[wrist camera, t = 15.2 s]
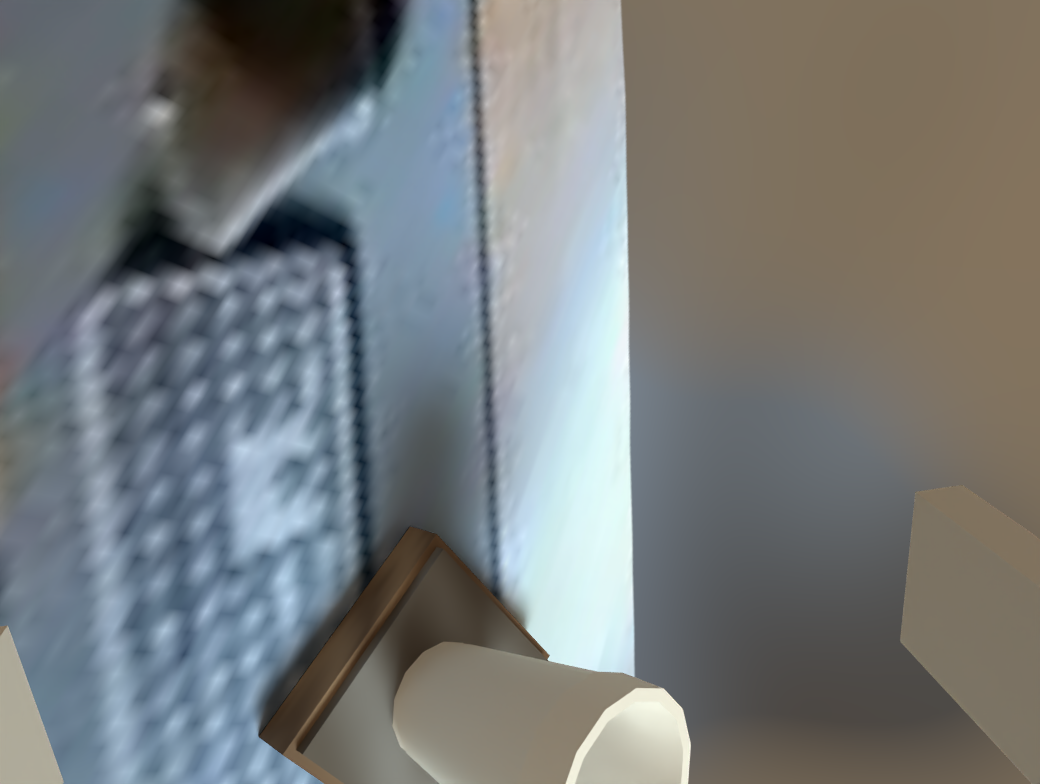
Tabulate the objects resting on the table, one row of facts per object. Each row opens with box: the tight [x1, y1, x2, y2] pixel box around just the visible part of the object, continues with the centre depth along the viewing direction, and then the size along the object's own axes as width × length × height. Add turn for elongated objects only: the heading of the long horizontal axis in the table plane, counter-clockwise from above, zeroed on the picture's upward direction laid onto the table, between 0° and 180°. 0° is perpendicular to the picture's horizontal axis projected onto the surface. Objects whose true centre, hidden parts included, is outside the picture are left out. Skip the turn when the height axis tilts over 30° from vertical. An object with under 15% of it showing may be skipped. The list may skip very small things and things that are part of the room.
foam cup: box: [392, 642, 691, 784], centre depth 40 cm, size 10×9×13 cm
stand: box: [259, 527, 550, 784], centre depth 46 cm, size 13×13×3 cm
